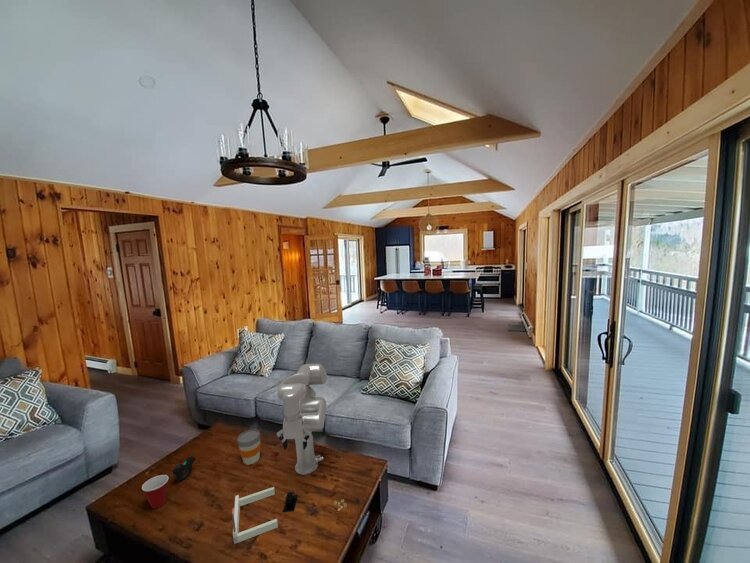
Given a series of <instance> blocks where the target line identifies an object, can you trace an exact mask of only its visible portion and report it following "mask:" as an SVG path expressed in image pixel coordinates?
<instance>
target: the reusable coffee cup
mask: <svg viewBox="0 0 750 563" xmlns="http://www.w3.org/2000/svg"><path fill="white" fill-rule="evenodd" d="M261 438H262V437H261V433H260V431H259V429H254V428H253V429H248V430H245V431H244V432H241V433H240V434H239V435H238V436H237V446H238V451H239V455H240V456H241V458H242V462H243V464H244V465H246V466H247V465H249V466H250V465H253V464H255V463H256V462H258V461H259V459H260V457H261V456H260V455H261V453H260V452H261V445H262V444H261Z"/></svg>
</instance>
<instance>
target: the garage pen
mask: <svg viewBox="0 0 750 563" xmlns="http://www.w3.org/2000/svg"><path fill="white" fill-rule="evenodd" d="M275 492H276V491H275V486H273V487H269V488H267V489H263V490H261V491H258V492H254V493H251V494H249V495H246V496H243V497H240V495H239V494H237V495H235V497H234V507H232V512H231V521H232V537H233V538H232V539H233V544H234V545H235V544H238V543H241V542H243V541H247V540H249V539H251V538H253V537H257V536H259V535H261V534H264V533H268V532H270V531H272V530H275V529H277V528H279V526H278V518H275V519H272V520H270V521H266V522H264V523H261V524H259V525H258V524H257V525H256V526H253V527H251V528H248V529H245V530H242V531H240V529H239V528H240V526H239V525H240V509H241V508H240V507H242V506H246V505H247V504H251V503H253V502H257V501H259V500H263V499H266V498H268V497H270V496H274V495H275V494H276V493H275Z"/></svg>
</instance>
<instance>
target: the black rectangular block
mask: <svg viewBox="0 0 750 563" xmlns="http://www.w3.org/2000/svg"><path fill="white" fill-rule="evenodd" d="M297 501H298V494H294V492H287V494H286V498H285V502H284V504H283V508H282V513H291V512H295V510H296V505H297Z"/></svg>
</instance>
